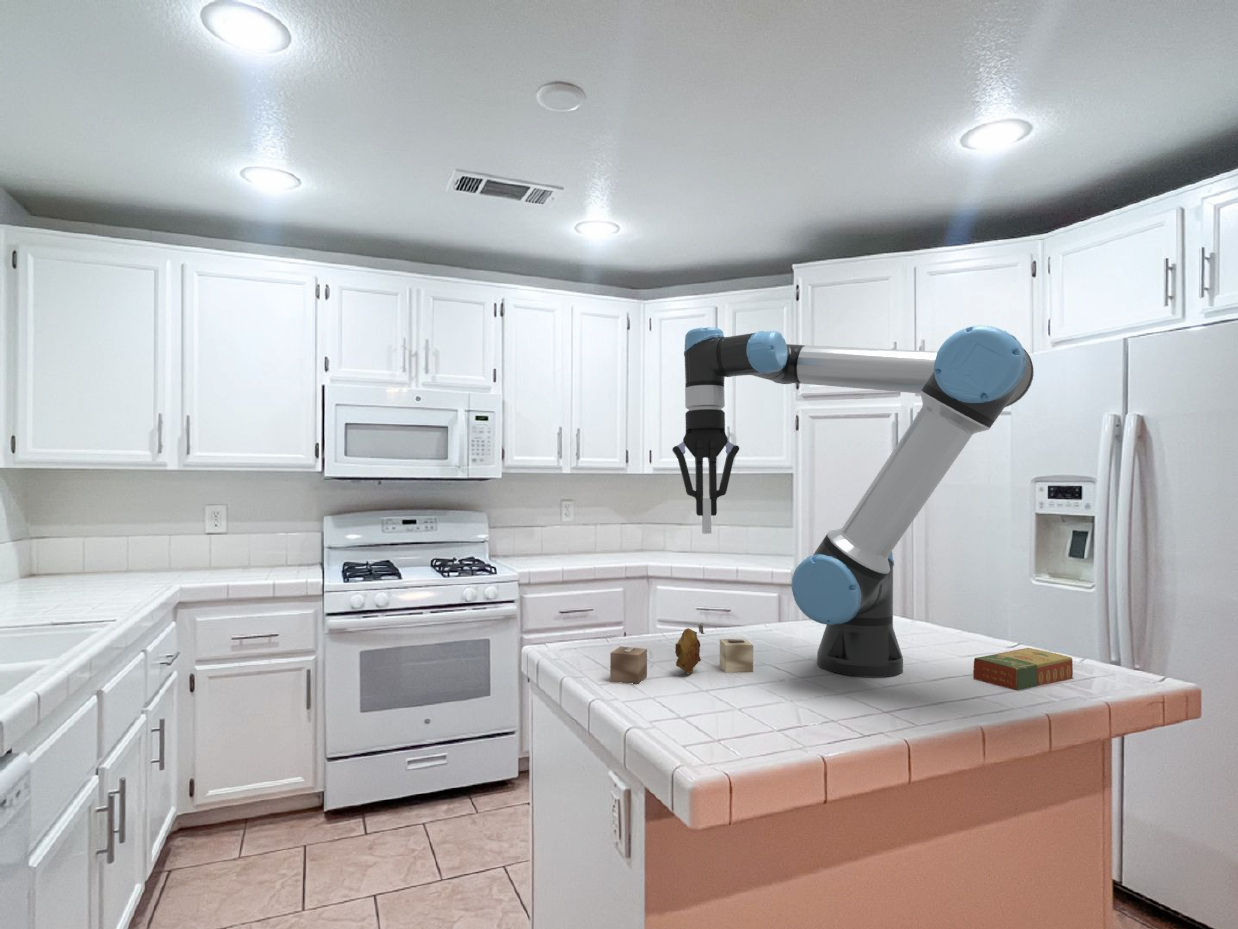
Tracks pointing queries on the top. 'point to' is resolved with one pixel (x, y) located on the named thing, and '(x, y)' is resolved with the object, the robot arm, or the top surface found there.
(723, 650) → the block maple
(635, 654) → the block walnut
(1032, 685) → the carton
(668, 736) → the top surface
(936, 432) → the robot arm
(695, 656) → the rock
